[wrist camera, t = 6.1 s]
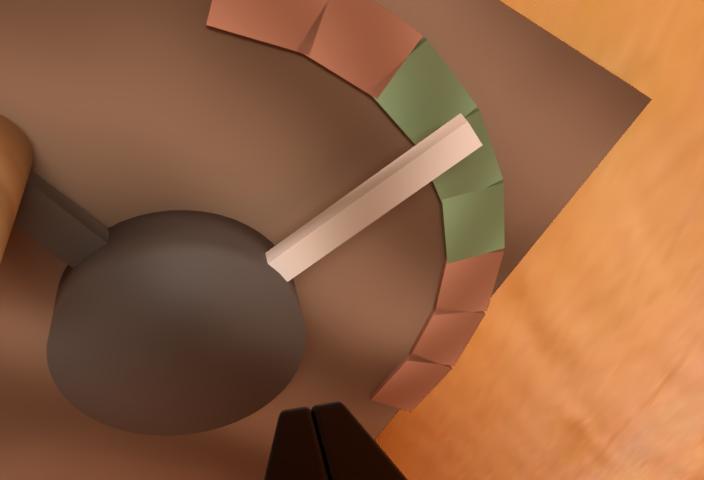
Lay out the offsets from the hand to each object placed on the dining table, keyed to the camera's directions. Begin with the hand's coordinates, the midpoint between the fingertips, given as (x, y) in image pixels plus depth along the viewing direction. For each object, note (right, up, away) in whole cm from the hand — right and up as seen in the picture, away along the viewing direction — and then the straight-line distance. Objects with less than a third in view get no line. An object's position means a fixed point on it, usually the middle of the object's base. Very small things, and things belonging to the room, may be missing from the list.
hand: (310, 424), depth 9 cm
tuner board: (-5, +1, +12) cm, 13 cm away
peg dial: (-3, +4, +9) cm, 10 cm away
